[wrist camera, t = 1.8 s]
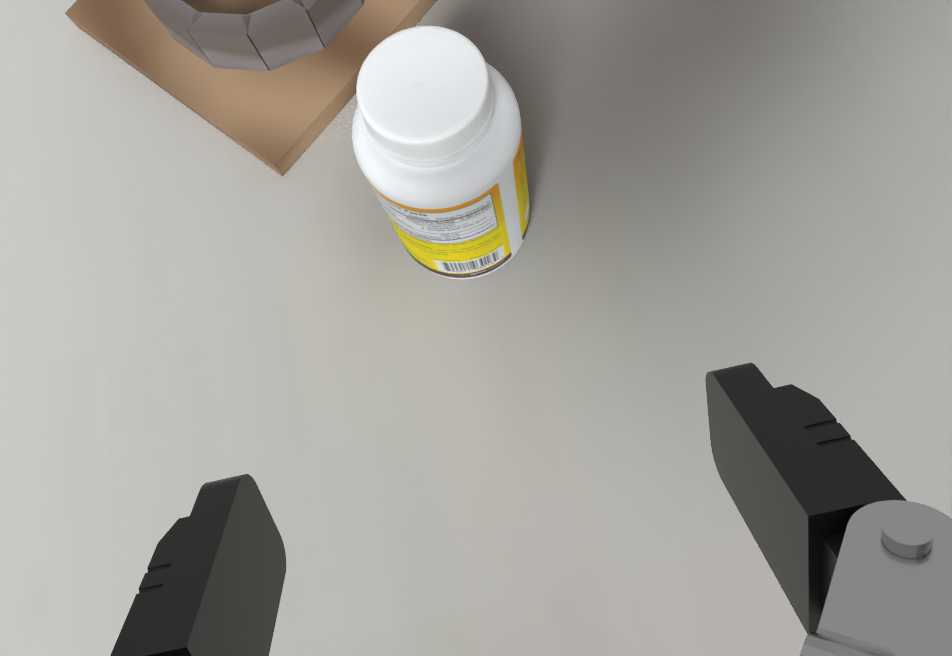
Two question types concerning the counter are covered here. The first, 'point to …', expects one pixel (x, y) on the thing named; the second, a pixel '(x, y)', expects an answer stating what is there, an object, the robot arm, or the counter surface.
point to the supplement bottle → (443, 151)
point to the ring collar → (251, 59)
